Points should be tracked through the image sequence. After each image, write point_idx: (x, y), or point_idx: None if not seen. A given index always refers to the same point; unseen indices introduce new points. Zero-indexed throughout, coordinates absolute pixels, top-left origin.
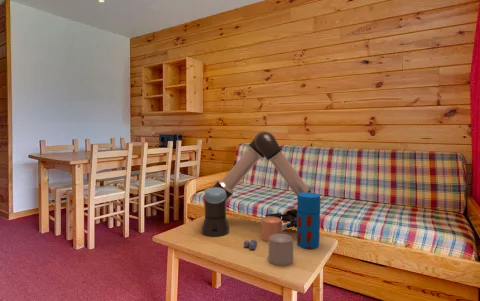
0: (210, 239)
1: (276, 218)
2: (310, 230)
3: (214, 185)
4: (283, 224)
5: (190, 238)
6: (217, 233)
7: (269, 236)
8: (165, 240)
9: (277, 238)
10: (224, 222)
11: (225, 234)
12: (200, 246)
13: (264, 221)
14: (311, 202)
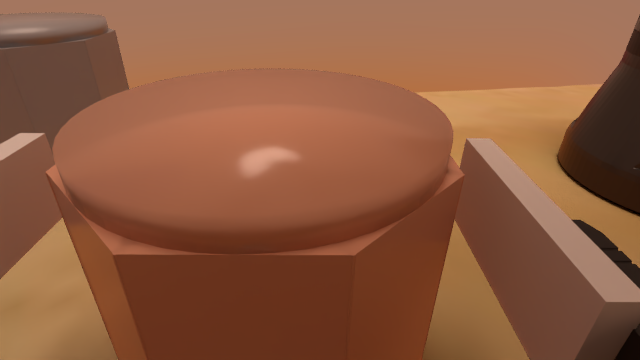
0: (526, 132)
1: (208, 159)
2: None
3: None
4: (8, 147)
5: (574, 110)
6: (564, 136)
7: (105, 18)
8: (579, 85)
9: (44, 18)
10: (637, 100)
11: (577, 180)
12: (461, 102)
13: (301, 71)
14: None
